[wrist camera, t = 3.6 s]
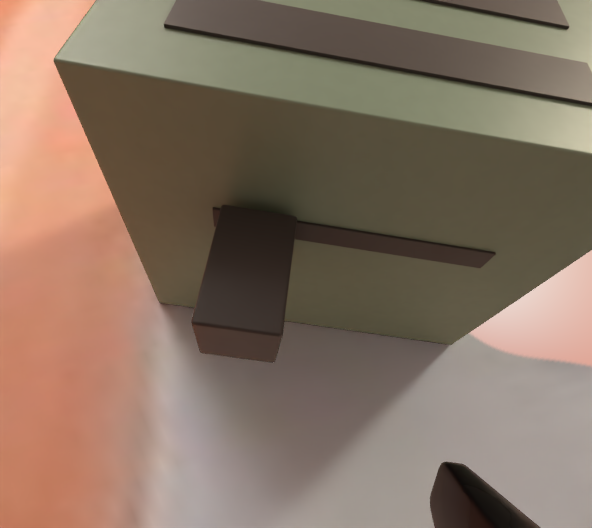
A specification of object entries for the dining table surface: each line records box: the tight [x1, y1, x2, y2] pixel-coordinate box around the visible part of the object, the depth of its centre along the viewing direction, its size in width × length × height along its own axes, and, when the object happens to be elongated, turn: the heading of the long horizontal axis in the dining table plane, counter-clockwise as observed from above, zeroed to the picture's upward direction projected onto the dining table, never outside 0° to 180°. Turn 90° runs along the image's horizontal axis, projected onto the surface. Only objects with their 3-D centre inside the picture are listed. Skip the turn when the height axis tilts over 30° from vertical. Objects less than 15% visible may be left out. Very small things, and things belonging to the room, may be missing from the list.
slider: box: [191, 205, 297, 363], centre depth 12 cm, size 4×2×3 cm, turn 174°
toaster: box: [54, 0, 592, 345], centre depth 17 cm, size 10×16×14 cm, turn 84°
